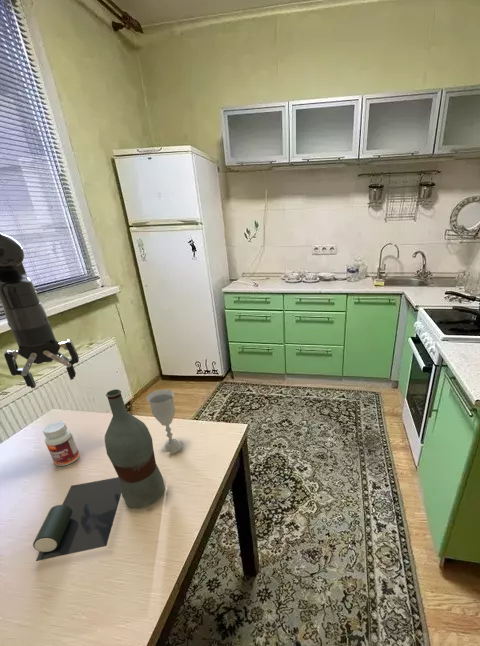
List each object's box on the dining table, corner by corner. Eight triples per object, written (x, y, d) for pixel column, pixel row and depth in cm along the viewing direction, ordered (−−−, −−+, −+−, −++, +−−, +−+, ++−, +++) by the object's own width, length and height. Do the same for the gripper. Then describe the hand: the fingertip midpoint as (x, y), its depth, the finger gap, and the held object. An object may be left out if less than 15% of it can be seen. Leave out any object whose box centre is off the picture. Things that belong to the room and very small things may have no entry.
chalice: (154, 452, 94) (140, 399, 86) (170, 438, 99) (158, 387, 91) (175, 458, 91) (162, 404, 83) (190, 443, 97) (179, 392, 89)
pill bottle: (52, 469, 89) (36, 436, 84) (58, 454, 94) (44, 423, 89) (77, 463, 91) (64, 431, 85) (82, 449, 96) (69, 418, 91)
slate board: (38, 565, 65) (35, 561, 64) (73, 489, 82) (71, 485, 81) (108, 550, 67) (106, 545, 66) (127, 479, 84) (126, 475, 84)
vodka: (124, 518, 74) (83, 409, 60) (126, 490, 81) (90, 386, 68) (167, 505, 77) (137, 398, 63) (165, 478, 84) (138, 378, 71)
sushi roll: (37, 554, 65) (28, 540, 63) (53, 520, 72) (46, 506, 70) (61, 549, 66) (54, 535, 64) (75, 516, 73) (69, 502, 71)
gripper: (65, 314, 83) (84, 370, 90) (-5, 324, 77) (22, 383, 84) (63, 322, 77) (84, 381, 84) (-12, 333, 71) (17, 396, 78)
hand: (53, 382), depth 84 cm, fingers open, 8 cm apart
